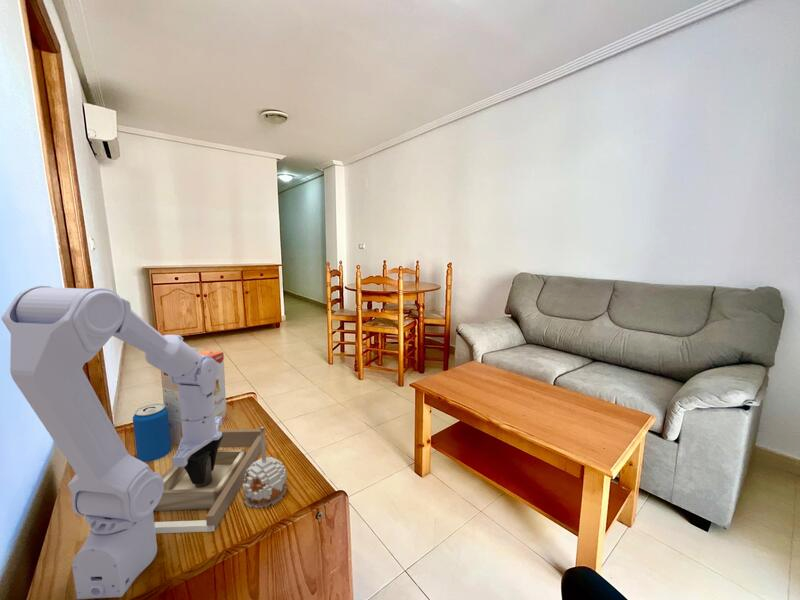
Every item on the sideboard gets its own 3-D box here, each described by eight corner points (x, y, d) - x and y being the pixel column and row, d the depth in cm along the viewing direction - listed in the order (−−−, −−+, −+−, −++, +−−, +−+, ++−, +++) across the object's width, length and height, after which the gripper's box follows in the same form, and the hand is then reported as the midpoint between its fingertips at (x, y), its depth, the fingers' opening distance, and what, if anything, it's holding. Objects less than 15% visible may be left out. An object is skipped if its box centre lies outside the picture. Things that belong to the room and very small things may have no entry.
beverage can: (166, 445, 83) (162, 399, 81) (175, 455, 79) (171, 408, 77) (134, 457, 78) (128, 409, 76) (142, 469, 74) (136, 418, 72)
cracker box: (184, 450, 81) (177, 368, 78) (166, 445, 83) (157, 365, 79) (229, 421, 94) (224, 350, 91) (212, 418, 96) (206, 348, 93)
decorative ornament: (236, 500, 65) (231, 429, 63) (271, 478, 71) (268, 413, 69) (259, 519, 61) (255, 444, 58) (294, 494, 67) (292, 425, 65)
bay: (214, 535, 57) (212, 510, 56) (123, 539, 56) (120, 514, 55) (265, 446, 83) (264, 428, 82) (203, 448, 82) (201, 429, 81)
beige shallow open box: (219, 508, 62) (217, 480, 61) (151, 511, 61) (148, 482, 60) (246, 464, 75) (245, 440, 74) (191, 465, 74) (189, 441, 73)
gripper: (199, 433, 59) (205, 502, 61) (234, 397, 73) (238, 454, 75) (157, 434, 58) (164, 504, 60) (201, 397, 72) (206, 455, 74)
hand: (203, 476), depth 67 cm, fingers closed on beige shallow open box, 3 cm apart
